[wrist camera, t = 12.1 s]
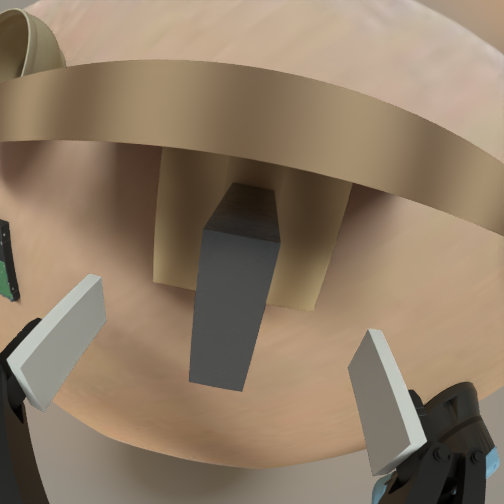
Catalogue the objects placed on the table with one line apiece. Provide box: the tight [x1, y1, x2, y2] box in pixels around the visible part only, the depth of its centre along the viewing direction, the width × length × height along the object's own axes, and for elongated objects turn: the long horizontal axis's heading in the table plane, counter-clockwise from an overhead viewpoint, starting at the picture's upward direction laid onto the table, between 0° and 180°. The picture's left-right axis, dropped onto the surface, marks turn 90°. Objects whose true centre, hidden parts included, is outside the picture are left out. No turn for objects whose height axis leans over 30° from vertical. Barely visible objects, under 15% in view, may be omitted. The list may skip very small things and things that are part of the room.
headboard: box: [0, 60, 504, 312], centre depth 20 cm, size 32×16×20 cm, turn 80°
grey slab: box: [189, 183, 281, 392], centre depth 20 cm, size 3×9×16 cm, turn 170°
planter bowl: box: [0, 8, 66, 83], centre depth 18 cm, size 16×16×11 cm
